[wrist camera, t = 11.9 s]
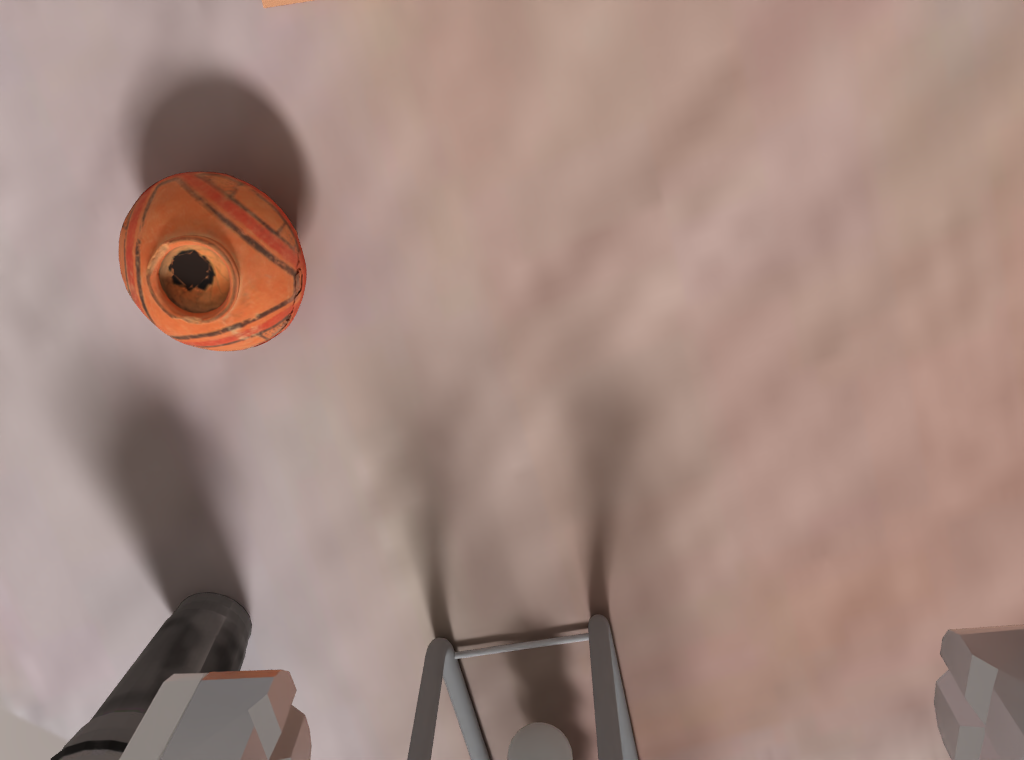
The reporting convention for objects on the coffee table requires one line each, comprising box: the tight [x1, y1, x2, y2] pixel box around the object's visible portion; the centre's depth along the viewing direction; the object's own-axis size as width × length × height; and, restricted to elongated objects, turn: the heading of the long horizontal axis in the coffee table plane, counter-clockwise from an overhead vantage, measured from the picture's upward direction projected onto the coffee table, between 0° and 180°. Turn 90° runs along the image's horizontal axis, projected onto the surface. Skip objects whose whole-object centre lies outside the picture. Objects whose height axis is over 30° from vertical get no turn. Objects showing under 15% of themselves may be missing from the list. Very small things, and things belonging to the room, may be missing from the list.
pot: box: [119, 172, 306, 351], centre depth 35 cm, size 8×8×7 cm
